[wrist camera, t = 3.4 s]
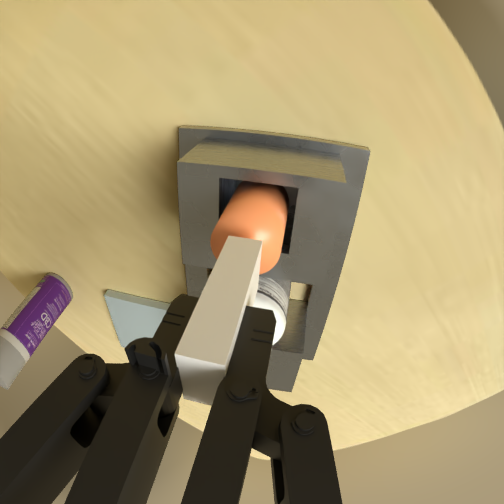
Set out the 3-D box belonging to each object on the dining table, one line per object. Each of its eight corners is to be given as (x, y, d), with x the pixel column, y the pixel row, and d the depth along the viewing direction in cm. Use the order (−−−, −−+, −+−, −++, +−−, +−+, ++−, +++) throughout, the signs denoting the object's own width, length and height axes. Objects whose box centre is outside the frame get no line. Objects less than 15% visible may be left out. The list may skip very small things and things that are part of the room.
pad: (108, 289, 33) (104, 295, 32) (182, 306, 32) (179, 313, 31) (124, 340, 38) (121, 346, 37) (189, 357, 37) (187, 364, 36)
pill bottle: (259, 296, 29) (237, 387, 21) (217, 257, 27) (178, 345, 20) (306, 268, 26) (298, 364, 19) (263, 223, 25) (236, 313, 17)
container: (79, 296, 35) (13, 390, 23) (62, 304, 37) (3, 389, 25) (55, 268, 33) (-19, 358, 21) (40, 278, 35) (-26, 361, 23)
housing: (183, 125, 21) (143, 149, 16) (368, 147, 20) (386, 179, 15) (194, 333, 34) (176, 377, 29) (313, 354, 33) (309, 402, 28)
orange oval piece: (234, 172, 18) (210, 210, 14) (292, 179, 18) (284, 221, 14) (232, 222, 20) (210, 269, 16) (285, 230, 20) (276, 280, 16)
